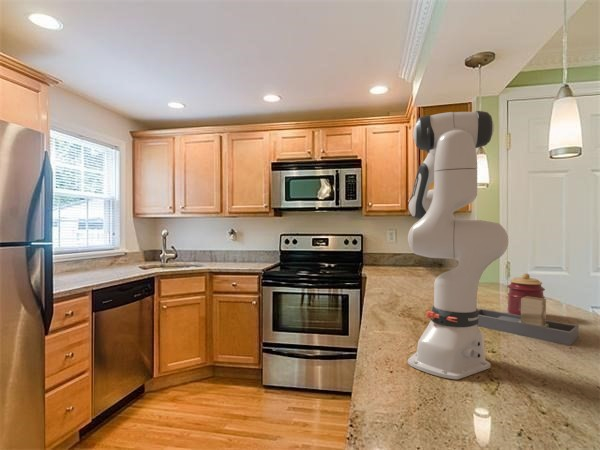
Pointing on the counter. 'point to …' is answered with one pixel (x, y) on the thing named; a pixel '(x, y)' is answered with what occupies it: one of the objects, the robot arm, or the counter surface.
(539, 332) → the box
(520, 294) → the canister
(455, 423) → the counter surface
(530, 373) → the counter surface
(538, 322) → the block
